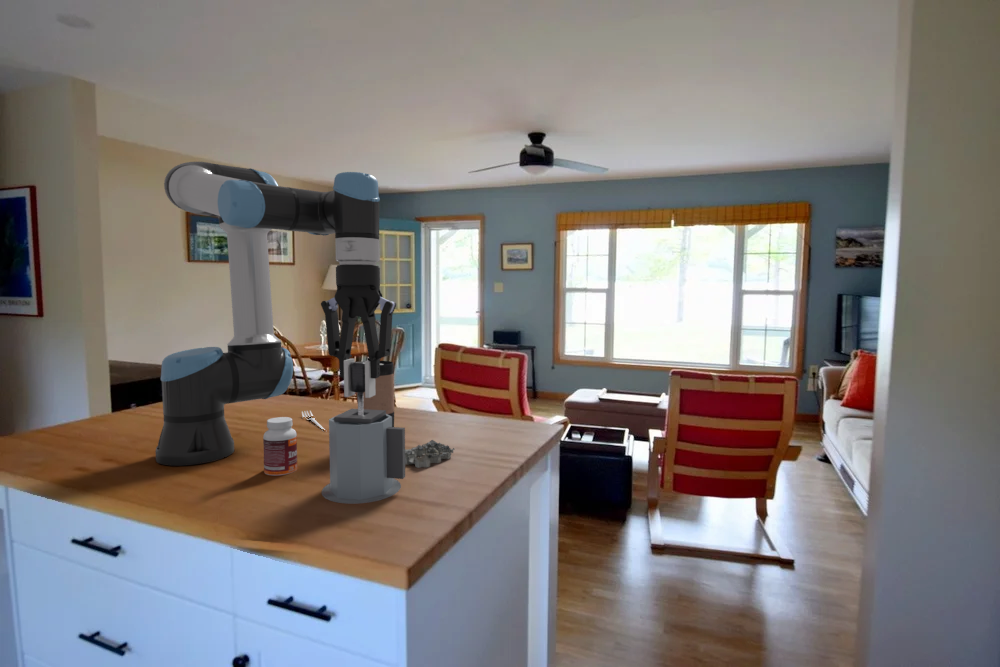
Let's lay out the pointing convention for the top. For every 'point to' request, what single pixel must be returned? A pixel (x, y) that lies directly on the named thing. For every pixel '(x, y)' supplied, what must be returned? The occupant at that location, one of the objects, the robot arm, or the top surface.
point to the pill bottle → (280, 447)
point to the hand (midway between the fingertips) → (360, 395)
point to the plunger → (358, 383)
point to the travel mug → (383, 391)
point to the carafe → (365, 454)
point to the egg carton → (427, 454)
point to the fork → (312, 419)
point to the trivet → (332, 497)
